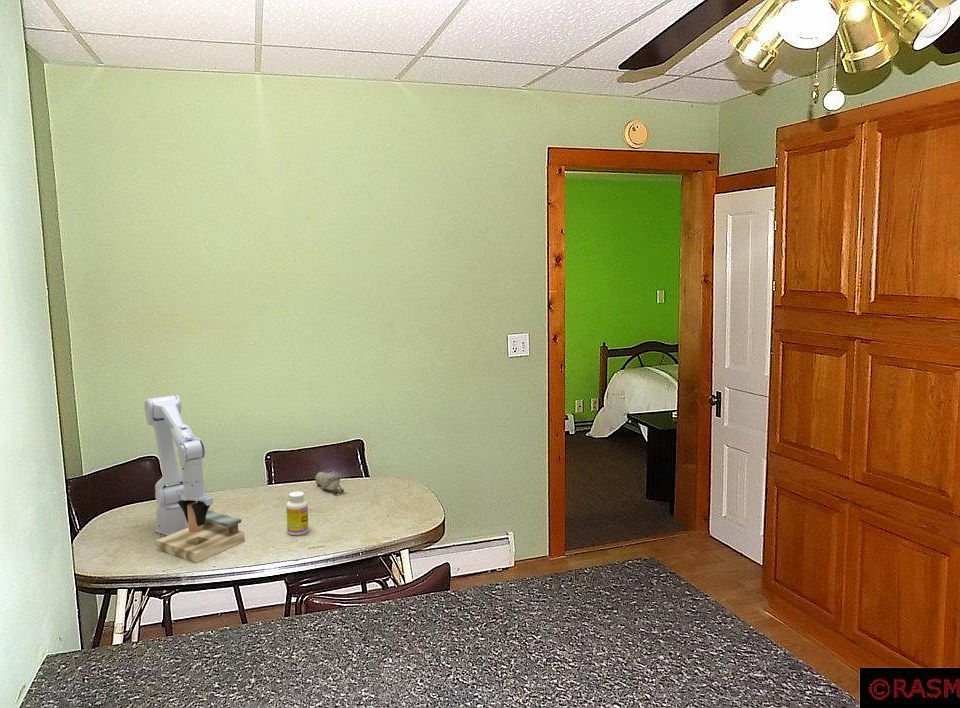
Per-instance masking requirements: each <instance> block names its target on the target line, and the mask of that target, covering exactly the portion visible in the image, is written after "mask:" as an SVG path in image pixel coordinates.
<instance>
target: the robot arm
mask: <svg viewBox="0 0 960 708" xmlns="http://www.w3.org/2000/svg"><path fill="white" fill-rule="evenodd" d="M181 412H182V400H181V398H180V396H179V395H178V394H172V395H167V396H160V397H153V398H149V397H147V398H146V400H145V402H144V413H145V419H146V422H147V425H149V426H152V427H153V430H154V433H155V439H156V444H157V445H156V446H157V449H158V456H159V463H160V469H161V472H162V473H161V474H162V476H161V477H160V479H159V480H158V481H157V482H156V483H155V486H154V490H155V493H154V495H155V501H156V505H157V506H158V507H157V509H156V511H155V513H156V515H155V516H156V526H157V528H156V529H155V530H154V532H155V533H158V534H160V535H164V536H168V535H171V534H173V533H176V532H178V531H181V530H184V529H186V528H189V526H188V512H187V505H188V504H190V503H194V502H197V503H196V504H193V505H191V506H192V508H193V510H194V512H195V516H196V523H197V526H201V525H203V524H204V523H205V518H206V514H207V511H208V510H210V509H209V508H210V506H211V505H213V504H214V497H212V496H210V495H209V494H207V493H206V492H205V485H204V484H205V483H204V471H203V470H204V469H203V459H204V458H205V455H206V448H205V444H204V442H203V440H202V439H201V438H199V437H196V435H195V434H194V432H193V430H192V428H191V427H190V426H189V425H188V424H187V423H186V424H185V423H184V421H183V418H182V416H181ZM174 443H175V444H174ZM175 445H176V447H177V455H178V459H179V464H180V467H181V471H182V474H181V473H179V467H178V461H177V456H176V449H175Z"/></svg>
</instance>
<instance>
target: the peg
mask: <svg viewBox="0 0 960 708" xmlns="http://www.w3.org/2000/svg"><path fill="white" fill-rule="evenodd" d="M196 503H197V501H196V502H194V503H190V504H188V505H187V512H188V526H189V532H192V533H195V532H200V531H202V530H203V525H201V526H197V523H196V516H195V512H194V510H193V508H192V506H191V505H193V504H196Z"/></svg>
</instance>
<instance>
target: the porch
mask: <svg viewBox="0 0 960 708" xmlns="http://www.w3.org/2000/svg"><path fill="white" fill-rule="evenodd" d="M241 523H242V519H241V518H237V517H235V516H231V515H227V514H224V513H220V512H217V511H213V510H210V509H208V511H207V514H206V518H205V523H204V524H203V530H202V531H200V532H195V533H192V532H189V528H186V529H184V530H181V531H178V532H176V533H173V534H171V535H168V536H167V535H165V536H163V537H160V538H159V539H156V549H157V551H161V552H163V553H167V554H169V555H172V556H175V557H179V558H180V557H181V559H185V560H186V561H189V562H192V563H194V564H197V563H200V562H202V561H204V560H206V559H209V558H210V557H212V556H213V557H214V556H215V555H217V554H219V553H221V552H223V551H226V550H228V549H230V548H233V547H235V546H237V545H239V544H243V543H244V542H245V531H242V530H239V524H241Z"/></svg>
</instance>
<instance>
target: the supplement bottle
mask: <svg viewBox="0 0 960 708" xmlns="http://www.w3.org/2000/svg"><path fill="white" fill-rule="evenodd" d="M288 498H289V501H288V502H287V503H286V505H285V507H286V529H287V530H286V531H287V533H288V534H289V535H291V536H301V535H305V534H306V533H307V532H308V531H309V513H308V512H309V510H308V509H309V507H308V506H309V505H308V501H307V500H306V499H305V493H304V492H303V491H299V490H297V491H292V492H290V493H289V495H288Z"/></svg>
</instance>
